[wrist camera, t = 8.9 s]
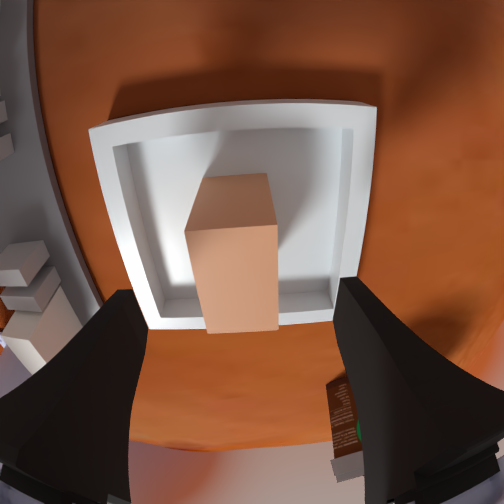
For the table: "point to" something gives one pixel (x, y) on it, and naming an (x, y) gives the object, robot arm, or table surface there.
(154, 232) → the tray
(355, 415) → the food container
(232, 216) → the block
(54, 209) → the rail
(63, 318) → the block
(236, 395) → the table surface
